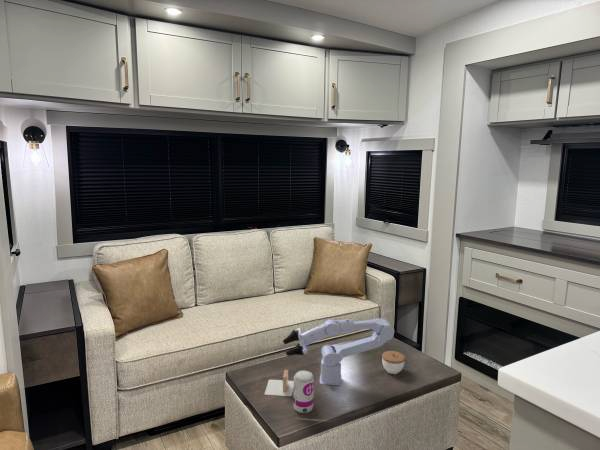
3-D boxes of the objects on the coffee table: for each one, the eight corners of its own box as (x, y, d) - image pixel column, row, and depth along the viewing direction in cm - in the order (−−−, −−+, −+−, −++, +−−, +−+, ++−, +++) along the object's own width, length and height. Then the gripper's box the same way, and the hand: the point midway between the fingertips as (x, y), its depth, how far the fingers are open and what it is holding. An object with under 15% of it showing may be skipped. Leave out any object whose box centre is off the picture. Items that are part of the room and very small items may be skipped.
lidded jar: (392, 379, 191) (393, 360, 189) (376, 368, 200) (377, 351, 198) (408, 372, 197) (409, 354, 195) (392, 363, 206) (393, 345, 204)
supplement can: (317, 409, 167) (317, 376, 165) (300, 416, 163) (301, 382, 160) (305, 400, 174) (306, 367, 171) (289, 406, 169) (289, 373, 167)
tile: (288, 384, 185) (288, 369, 183) (286, 391, 179) (286, 377, 178) (284, 384, 185) (284, 369, 184) (282, 391, 179) (282, 376, 178)
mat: (294, 382, 187) (294, 380, 187) (291, 397, 176) (291, 396, 176) (268, 380, 188) (268, 379, 188) (264, 395, 177) (264, 394, 177)
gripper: (305, 319, 189) (279, 331, 189) (313, 340, 176) (284, 353, 176) (311, 329, 192) (284, 341, 192) (318, 351, 180) (290, 364, 179)
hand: (285, 348), depth 184 cm, fingers open, 7 cm apart
